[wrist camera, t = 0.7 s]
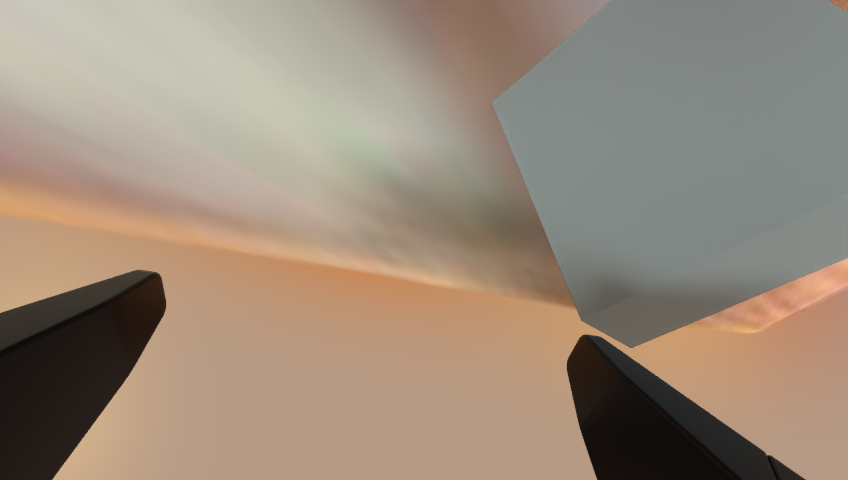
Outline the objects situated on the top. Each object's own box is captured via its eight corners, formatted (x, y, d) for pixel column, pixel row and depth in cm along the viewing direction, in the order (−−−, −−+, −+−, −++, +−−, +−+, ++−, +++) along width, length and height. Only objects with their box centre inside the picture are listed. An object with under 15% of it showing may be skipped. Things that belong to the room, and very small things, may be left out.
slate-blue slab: (491, 102, 21) (581, 320, 14) (700, -76, 16) (1017, 111, 9) (535, 144, 23) (631, 348, 16) (727, 1, 19) (992, 197, 11)
